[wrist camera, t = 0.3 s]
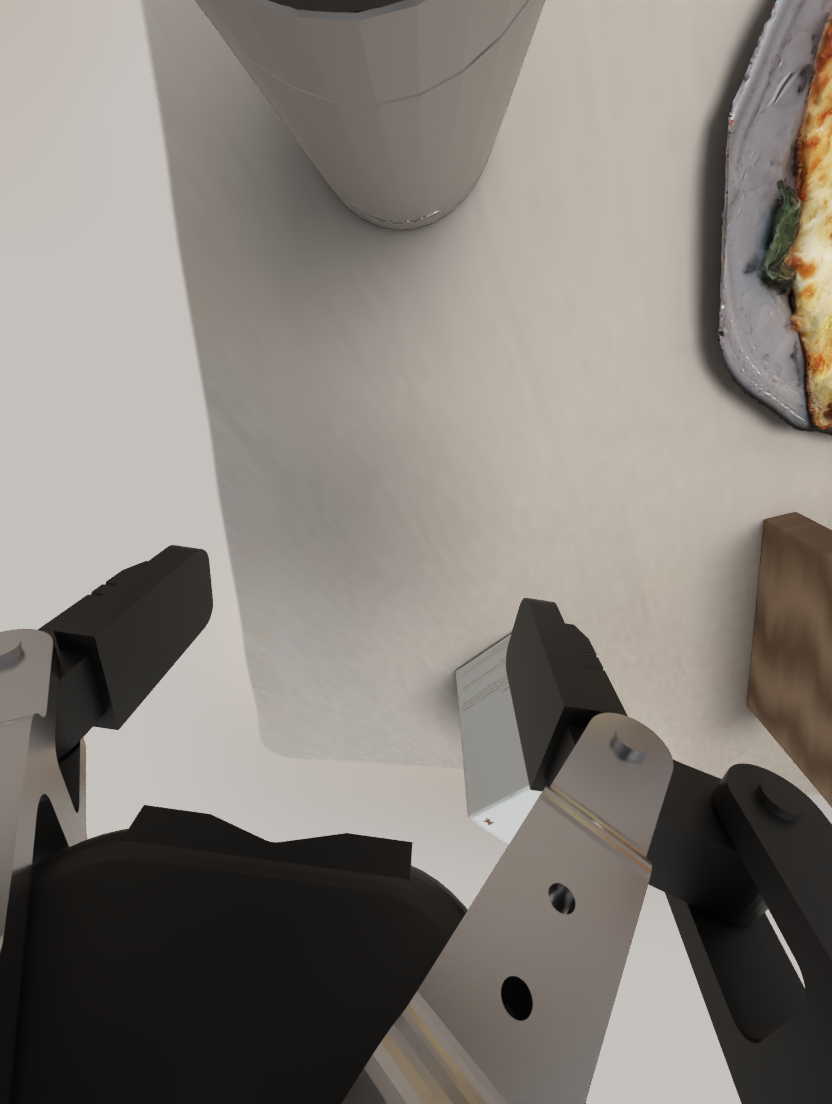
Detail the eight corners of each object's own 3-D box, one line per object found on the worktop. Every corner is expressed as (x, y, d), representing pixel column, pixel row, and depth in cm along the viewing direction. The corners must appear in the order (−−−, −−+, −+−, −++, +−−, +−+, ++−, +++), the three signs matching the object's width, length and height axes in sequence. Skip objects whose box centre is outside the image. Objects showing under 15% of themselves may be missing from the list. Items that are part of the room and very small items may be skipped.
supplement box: (505, 713, 39) (535, 868, 28) (453, 669, 37) (463, 819, 25) (573, 674, 36) (636, 827, 25) (521, 624, 34) (566, 769, 23)
